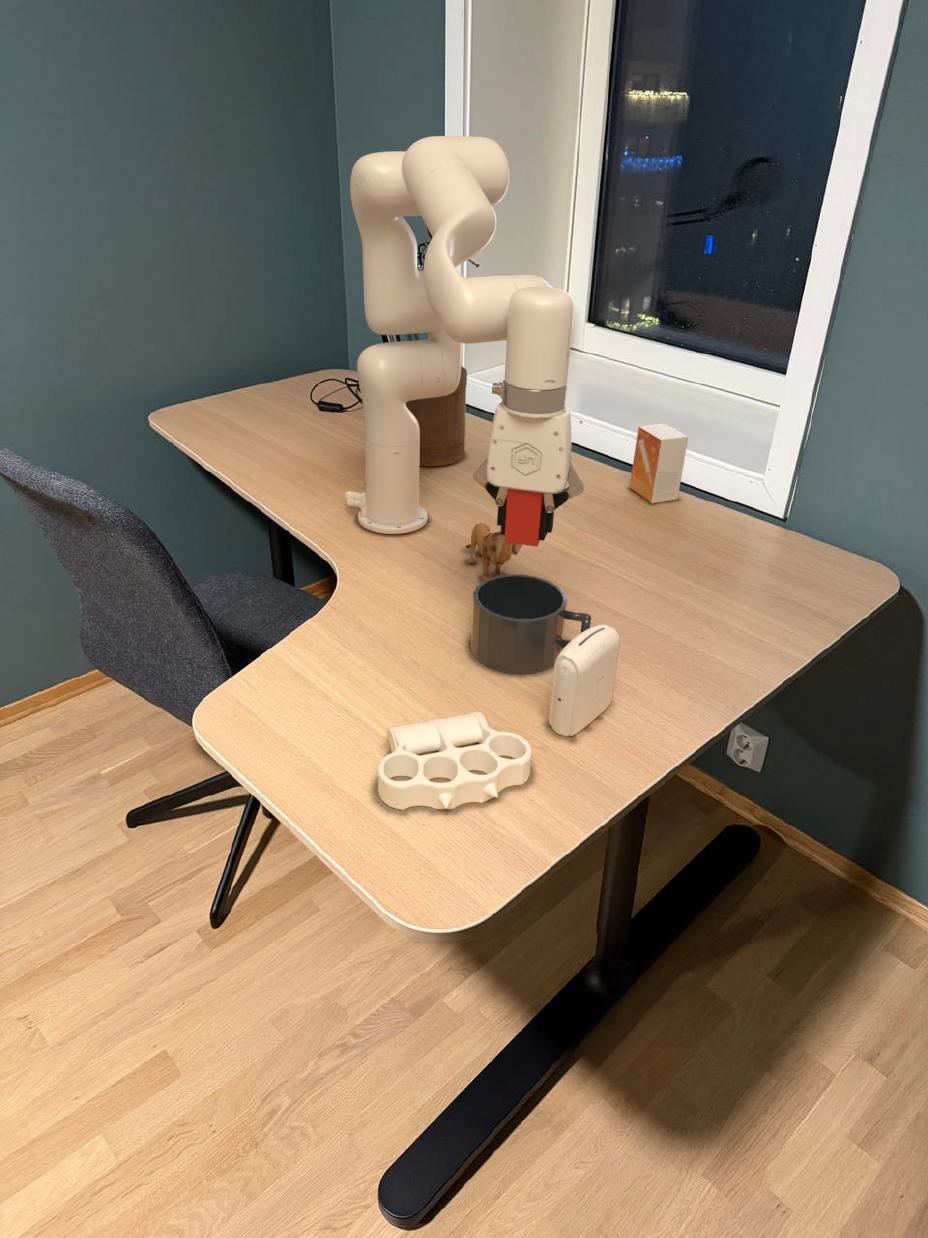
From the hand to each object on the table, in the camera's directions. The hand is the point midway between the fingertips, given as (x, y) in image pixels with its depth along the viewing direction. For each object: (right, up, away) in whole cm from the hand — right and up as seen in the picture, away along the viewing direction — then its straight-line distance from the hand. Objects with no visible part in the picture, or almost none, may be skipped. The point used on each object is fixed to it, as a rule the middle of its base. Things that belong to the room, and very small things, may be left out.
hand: (524, 532), depth 115 cm
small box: (+30, +13, +59) cm, 67 cm away
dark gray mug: (+1, -16, +9) cm, 18 cm away
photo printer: (+7, -24, -3) cm, 25 cm away
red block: (0, -1, 0) cm, 1 cm away
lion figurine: (-4, -3, +30) cm, 30 cm away
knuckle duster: (-9, -29, -13) cm, 34 cm away
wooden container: (-15, +24, +73) cm, 79 cm away
